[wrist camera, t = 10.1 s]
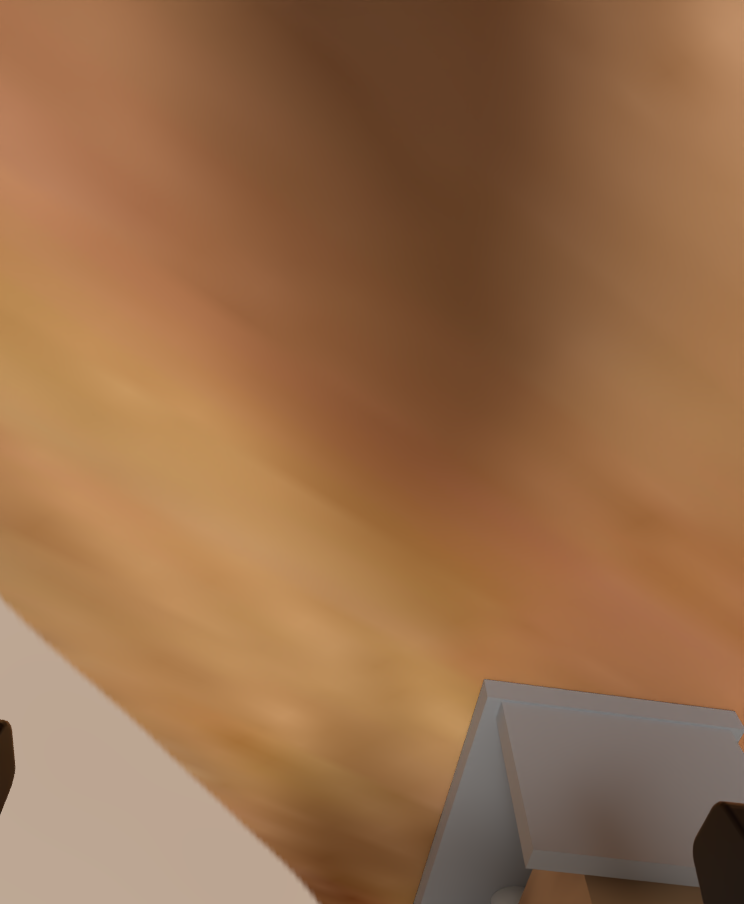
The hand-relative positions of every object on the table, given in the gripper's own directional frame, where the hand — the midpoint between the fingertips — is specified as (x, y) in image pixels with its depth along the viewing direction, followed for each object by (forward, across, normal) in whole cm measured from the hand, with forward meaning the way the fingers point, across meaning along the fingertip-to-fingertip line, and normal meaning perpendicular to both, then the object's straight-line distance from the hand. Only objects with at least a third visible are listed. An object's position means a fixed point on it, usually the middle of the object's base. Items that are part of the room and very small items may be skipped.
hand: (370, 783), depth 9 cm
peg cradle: (+12, -10, +16) cm, 23 cm away
